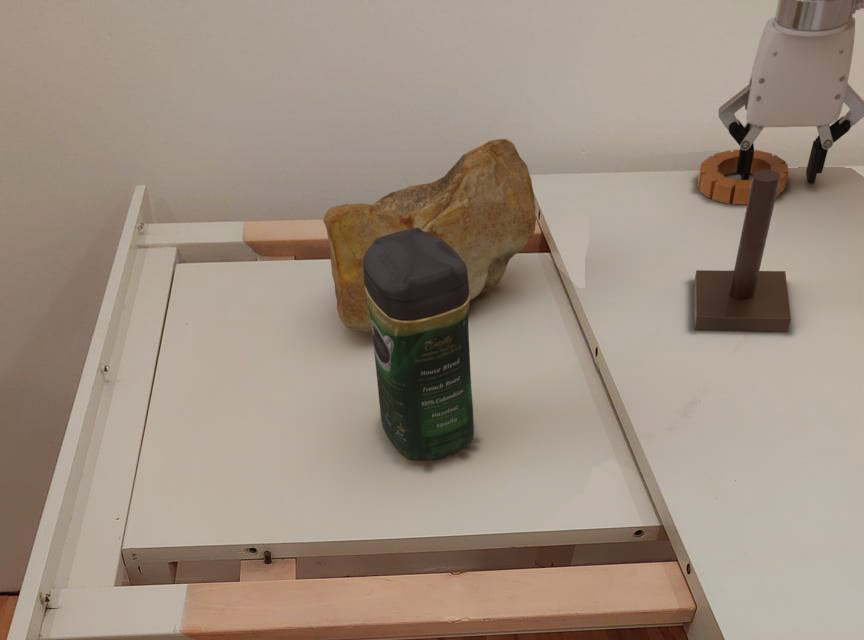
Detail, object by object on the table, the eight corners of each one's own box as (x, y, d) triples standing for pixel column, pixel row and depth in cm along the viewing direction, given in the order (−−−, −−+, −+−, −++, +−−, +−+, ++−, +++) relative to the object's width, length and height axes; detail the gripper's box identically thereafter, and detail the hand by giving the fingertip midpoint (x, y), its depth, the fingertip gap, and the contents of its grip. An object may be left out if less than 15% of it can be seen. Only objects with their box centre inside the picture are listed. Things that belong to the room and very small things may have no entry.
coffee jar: (487, 449, 87) (483, 260, 72) (408, 475, 85) (388, 288, 71) (446, 394, 93) (435, 210, 78) (372, 417, 91) (347, 235, 77)
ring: (781, 165, 115) (785, 148, 114) (786, 204, 109) (790, 187, 108) (697, 166, 117) (700, 149, 116) (698, 204, 111) (700, 187, 110)
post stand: (782, 284, 99) (814, 152, 88) (787, 332, 93) (822, 198, 83) (694, 282, 101) (715, 154, 90) (694, 329, 95) (717, 198, 85)
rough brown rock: (483, 238, 113) (471, 104, 102) (553, 288, 102) (548, 143, 91) (307, 302, 109) (275, 169, 98) (359, 361, 98) (330, 219, 87)
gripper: (898, -8, 99) (851, 164, 112) (727, 0, 102) (701, 165, 116) (908, 17, 94) (857, 193, 108) (728, 25, 98) (701, 194, 111)
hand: (776, 178), depth 112 cm, fingers open, 6 cm apart
